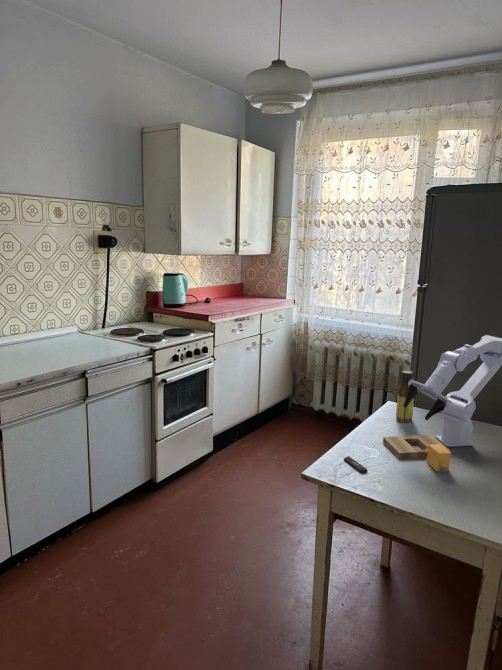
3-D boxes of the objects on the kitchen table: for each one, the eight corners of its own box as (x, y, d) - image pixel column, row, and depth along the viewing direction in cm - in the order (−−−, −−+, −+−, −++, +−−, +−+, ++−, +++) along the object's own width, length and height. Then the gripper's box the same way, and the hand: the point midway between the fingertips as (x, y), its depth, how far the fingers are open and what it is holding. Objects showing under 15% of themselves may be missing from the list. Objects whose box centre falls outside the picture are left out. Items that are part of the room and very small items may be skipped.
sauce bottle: (412, 418, 183) (417, 370, 178) (412, 424, 177) (417, 375, 173) (395, 415, 185) (400, 368, 180) (394, 421, 179) (399, 372, 175)
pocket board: (430, 440, 164) (430, 434, 163) (449, 455, 152) (450, 450, 152) (382, 442, 161) (383, 436, 160) (398, 458, 149) (399, 453, 149)
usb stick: (342, 461, 147) (343, 456, 147) (349, 459, 148) (349, 455, 148) (361, 475, 139) (361, 470, 139) (368, 473, 140) (368, 468, 140)
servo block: (435, 459, 150) (437, 442, 148) (451, 473, 141) (453, 455, 140) (424, 459, 149) (426, 442, 148) (439, 473, 140) (441, 455, 139)
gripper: (418, 364, 152) (394, 395, 149) (459, 386, 144) (436, 419, 141) (418, 374, 158) (396, 404, 154) (458, 396, 149) (435, 428, 146)
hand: (415, 412), depth 148 cm, fingers open, 7 cm apart
